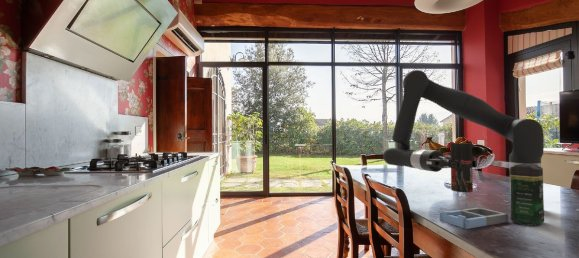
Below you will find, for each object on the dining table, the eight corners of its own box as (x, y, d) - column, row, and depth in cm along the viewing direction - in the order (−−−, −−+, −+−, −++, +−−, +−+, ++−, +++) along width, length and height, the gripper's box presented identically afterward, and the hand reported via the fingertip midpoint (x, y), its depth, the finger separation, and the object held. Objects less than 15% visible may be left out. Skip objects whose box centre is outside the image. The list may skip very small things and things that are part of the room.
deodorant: (472, 193, 91) (471, 143, 91) (450, 191, 94) (449, 143, 94) (472, 189, 96) (472, 143, 96) (451, 188, 99) (451, 143, 99)
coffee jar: (540, 228, 87) (537, 165, 88) (507, 222, 93) (505, 163, 94) (548, 222, 93) (545, 163, 94) (517, 217, 99) (515, 161, 100)
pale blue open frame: (479, 214, 103) (479, 205, 103) (507, 221, 94) (507, 211, 94) (440, 220, 97) (439, 210, 97) (466, 228, 88) (465, 217, 88)
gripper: (410, 150, 106) (450, 153, 90) (441, 149, 111) (484, 151, 95) (411, 171, 106) (451, 178, 90) (442, 169, 111) (485, 175, 95)
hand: (468, 164), depth 92 cm, fingers closed on deodorant, 6 cm apart
